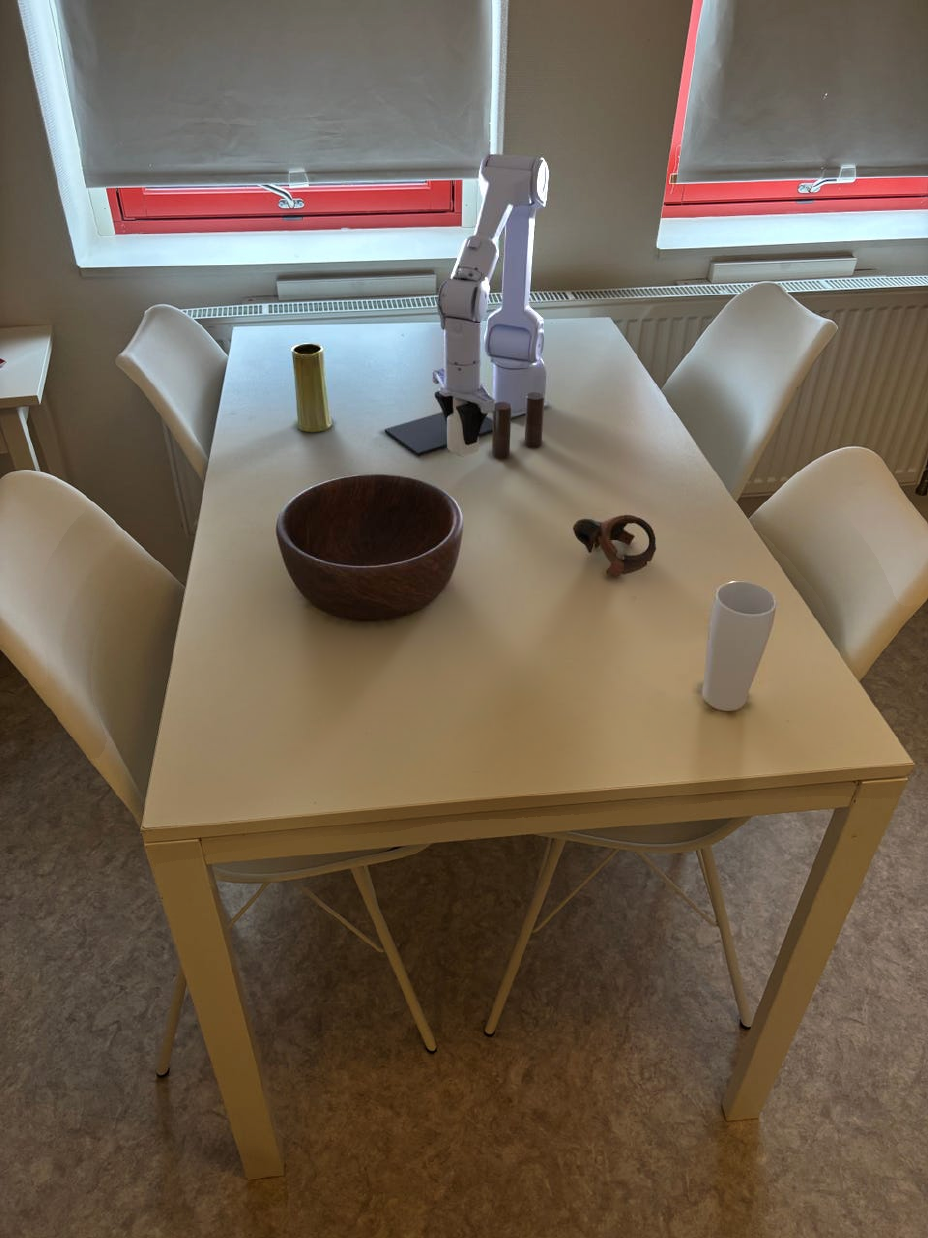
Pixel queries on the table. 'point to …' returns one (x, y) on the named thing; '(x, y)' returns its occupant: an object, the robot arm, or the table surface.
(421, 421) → the mat
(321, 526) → the wooden bowl
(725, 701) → the drinking glass
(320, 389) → the vase
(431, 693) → the table surface
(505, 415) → the walnut dowel
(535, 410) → the walnut dowel
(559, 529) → the table surface
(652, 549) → the brown curled ring figurine
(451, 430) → the pepper shaker
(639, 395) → the table surface
